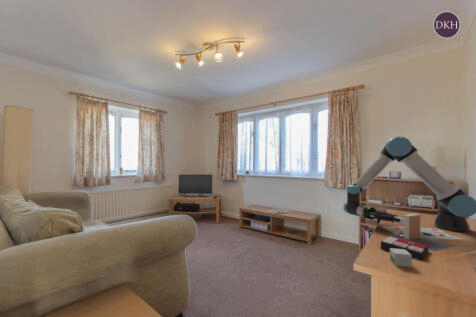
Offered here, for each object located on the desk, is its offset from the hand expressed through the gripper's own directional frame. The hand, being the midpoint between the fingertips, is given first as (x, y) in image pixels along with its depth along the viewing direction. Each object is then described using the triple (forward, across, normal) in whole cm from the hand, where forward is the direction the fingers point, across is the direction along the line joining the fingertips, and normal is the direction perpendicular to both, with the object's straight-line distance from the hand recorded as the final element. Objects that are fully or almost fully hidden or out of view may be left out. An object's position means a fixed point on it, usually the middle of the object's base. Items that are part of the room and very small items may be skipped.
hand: (407, 221), depth 114 cm
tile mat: (+6, -1, -8) cm, 10 cm away
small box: (+18, +33, -9) cm, 39 cm away
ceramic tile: (+1, -1, -8) cm, 8 cm away
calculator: (+10, +19, -9) cm, 23 cm away
